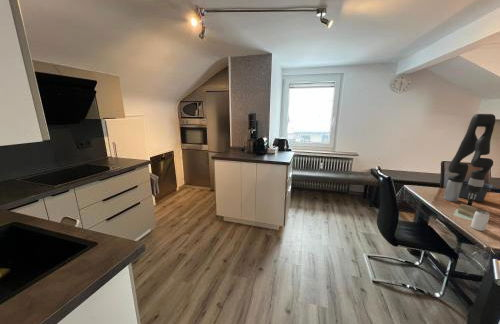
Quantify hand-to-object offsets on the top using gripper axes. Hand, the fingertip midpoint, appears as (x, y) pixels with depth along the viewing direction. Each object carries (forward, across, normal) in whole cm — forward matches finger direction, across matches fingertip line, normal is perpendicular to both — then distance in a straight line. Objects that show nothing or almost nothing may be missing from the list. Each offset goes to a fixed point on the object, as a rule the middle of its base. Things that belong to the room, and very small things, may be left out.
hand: (469, 206), depth 155 cm
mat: (+6, +7, 0) cm, 9 cm away
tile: (+5, +6, 0) cm, 8 cm away
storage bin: (+6, -42, -2) cm, 42 cm away
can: (+6, +25, +7) cm, 27 cm away
